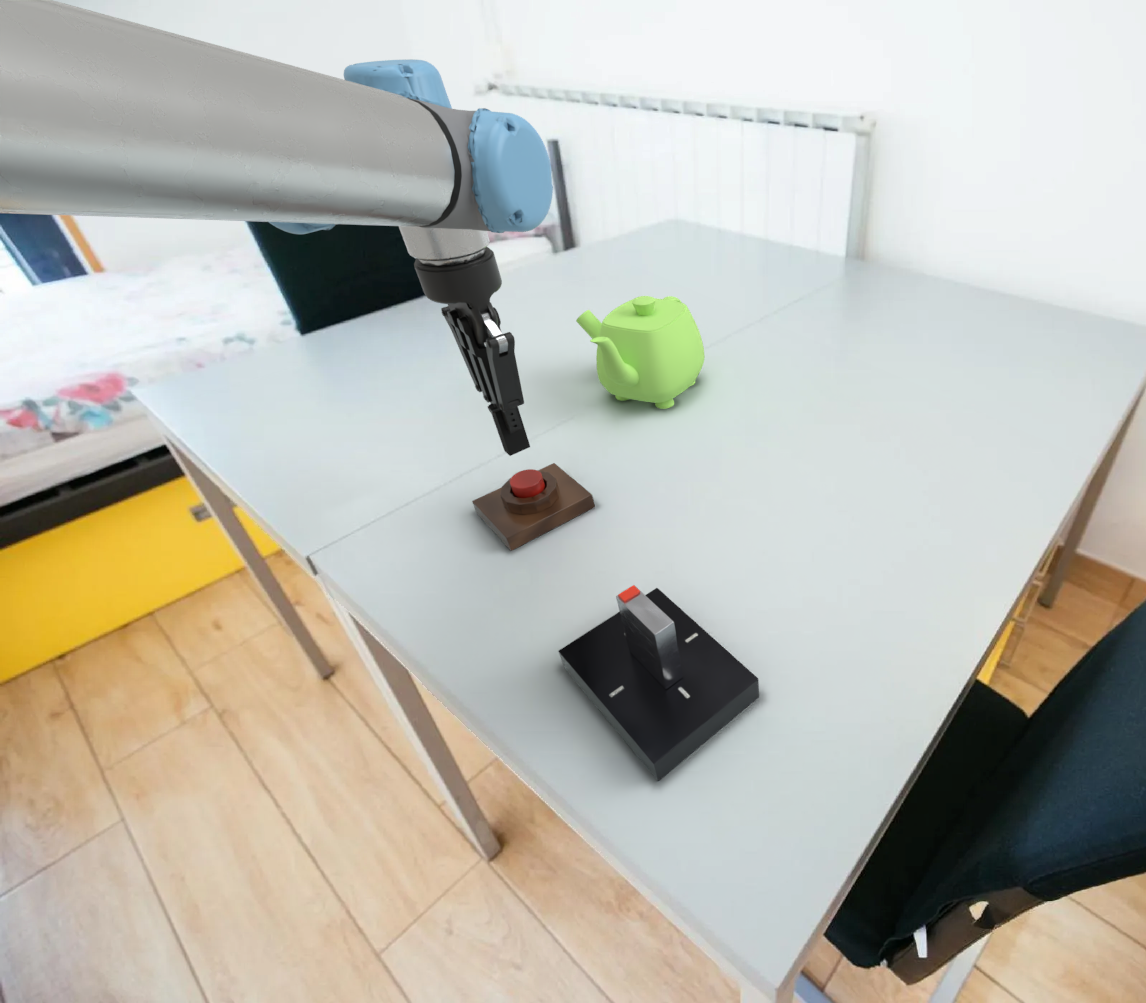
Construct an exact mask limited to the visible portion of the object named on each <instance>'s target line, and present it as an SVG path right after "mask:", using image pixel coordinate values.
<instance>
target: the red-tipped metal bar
mask: <svg viewBox="0 0 1146 1003" xmlns="http://www.w3.org/2000/svg"><path fill="white" fill-rule="evenodd" d="M645 595H646V594H645V593H644V592H642V590H641V589H639V588H638V587H637V586H636V585H635V584H633V585H631V586H630V587H628V588H626V589H625V590H623V591H621V592H619V593H618V594H617V595H616V596H615V598H616V602H617V607H618V610H619V611H618V612H620V615H621V619H622V623H623V627H624V631H625V635H626V639H627V644H628V648H629V651H630V653H631V654H632V655H633V656H634V657H635V658H636V659H637V660H638V661H639V662H640V663H641V664H642V665H643V666H644V667H645V668H646V669H647V670H648V671H649V672H650V673H651V674H652V676H653V677H654V678H655V679H656V680H657V681H658V682H659V683H660V684H661V685H662V686H663V687H664V688H665V689H668V688H669V687H670V686H672V685H673V684H674V683H676V682H677V681H678V680H680V679H681V678H682V677H683V674H682V668H681V662H680V656H679V650H678V644H677V638H676V632H675V625H674V622H673V621H672V620H671V619H670V618H669V617H668V616H667V615H666V614H665V613H664V612H663V611H662V610H661V609H659V608H658V607H657V606H656V605H655V604H654V603H653V602H652V601H651V600H650V599H649V598H648V597H647V596H645Z"/></svg>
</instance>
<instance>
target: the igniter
mask: <svg viewBox="0 0 1146 1003" xmlns="http://www.w3.org/2000/svg"><path fill="white" fill-rule="evenodd" d="M536 470H537V469H536ZM537 471H539V472H540V473H541V474H542V477H543V480H544V483H545V488H544V490H543V491H542V493H540V494H538V495H535V496H533V497H529V498H518V497H516V496H515V495H514V494H513V491H512V488H511V485H510V479H511V477H510V478H509V479H507V481H506V482H505V483H504V484H502V486H501V487H499V488H497V489H495V490H493V491H490V492H488V493H486V494H484V495H482V496H480V497H478V498H476V499H473V500H471V503H472V505H473V506H474V510H475V513H476V515H477V516H478V517H480V519H481V520H482V521H483V522H484V523H485V524H486V525H487V526H488V527H489V528H490V529H491V531H492V532H493V533H494V534H495V535H496V536H497V537H498V538H499V539H500V540H501V541H502V543H503V544H504V545H505V546H506V547H507V549H508V550H510V551H514V550H516V549H518V548H520V547H522V546H524V545H526V544H527V543H530V542H531V541H533V540H535V539H537V538H539V537H541V536H543V535H544V534H547V533H549V532H550V531H552V530H554V529H556V528H558V527H560V526H562V525H563V524H566V523H568V522H570V521H571V520H573V519H575V518H577V517H579V516H581V515H583V514H584V513H586V512H589V511H590V510H593V509H594V508H596V506H595V502H594V497H593V494H592V493H591V492H590V491H588V490H587V489H586V488H585V487H584V486H582V485H581V483H579V482H577V480H575V479H574V478H573V477H572V476H570V474H568V473H567V472H565V470H564V469H563V468H561V467H560V466H559V465H558V464H556V463H555V462H553V463H551V464H549V465H546V466H544V467H542V468H540V469H538V470H537Z"/></svg>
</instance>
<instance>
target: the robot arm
mask: <svg viewBox="0 0 1146 1003" xmlns="http://www.w3.org/2000/svg"><path fill="white" fill-rule="evenodd" d="M552 171H553V170H552V164H551V160H550V156H549V153H548V150H547V148H546V146H545V143H544V141H543V139H542V137H541V135H540V134H539V132H538V131H537V129H536V128H535V127H534V126H533V125H532V124H531V123H530V122H529V121H528V120H527V119H525V118H524V117H522V116H520V115H518V114H515V113H512V112H503V111H501V112H500V111H492V110H490V109H488V108H486V107H483V108H482V107H481V108H480V107H479V108H477V110H466V109H456V108H453V107H452V104H451V101H450V99H449V96H448V93H447V90H446V88H445V84H444V81H443V78H442V75H441V73H440V71H439V70H438V69H437V67H436V66H435V65H434V64H432V63H431V62H428V61H427V60H423V59H388V60H387V59H385V60H374V61H364V62H358V63H354V64H353V63H352V64H349V65H347V66H346V67H345V68H344V69H343V78H339V77H335V76H332V75H329V74H325V73H321V72H319V71H318V72H317V71H314V70H311V69H307V68H302V67H299V66H295V65H292V64H288V63H285V62H281V61H276V60H274V59H270V58H269V59H268V58H266V57H262V56H258V55H255V54H251V53H248V52H244V51H240V50H237V49H233V48H229V47H226V46H221V45H218V44H214V43H211V42H207V41H203V40H200V39H197V38H193V37H189V36H185V35H182V34H178V33H174V32H170V31H167V30H163V29H160V28H156V27H152V26H148V25H146V24H141V23H138V22H133V21H130V20H127V19H123V18H119V17H116V16H112V15H109V14H105V13H100V12H97V11H93V10H90V9H86V8H82V7H79V6H75V5H72V4H68V3H64V2H62V1H61V2H60V1H57V0H0V214H13V215H14V214H15V215H17V214H18V215H45V216H46V215H47V216H48V215H49V216H72V217H73V216H77V217H78V216H79V217H80V216H81V217H103V218H104V217H105V218H106V217H107V218H108V217H109V218H137V219H140V218H141V219H166V220H167V219H168V220H198V221H199V220H202V221H226V222H227V221H228V222H229V221H231V222H257V223H259V222H262V223H269V224H270V225H272V226H273V227H275V228H277V229H278V230H281V231H283V232H286V233H288V234H293V235H306V234H310V233H314V232H318V231H322V230H323V231H331V230H332V229H333V228H334V227H336V225H354V226H355V225H356V226H380V227H381V226H384V227H385V226H386V227H388V226H389V227H398V229H399V231H400V234H401V237H402V240H403V242H404V245H405V248H406V250H407V253H408V254H409V256H411V257H412V258H414V259H415V260H414V263H413V267H414V270H415V272H416V275H417V277H418V280H419V283H420V285H421V288H422V292H423V293H424V295H425V297H426V298H427V299H428V300H430V301H431V302H434V303H437V304H443V305H447V306H443V307H441V308H440V311H441V315H442V317H444V319H445V321H446V323H447V325H448V327H449V329H450V330H451V334H452V336H453V338H454V340H455V342H456V345H457V347H458V350H459V351H460V354H461V356H462V358H463V361H464V364H465V366H466V368H467V371H468V373H469V375H470V377H471V380H472V382H473V384H474V388H475V390H476V391H477V392H478V393H482V396H483V399H484V400H485V401H486V403H490V404H488V406H487V409H488V411H489V412H490V414H491V417H492V420H493V422H494V425H495V428H496V430H497V434H498V436H499V439H500V442H501V445H502V448H503V451H504V452H505V453H506V454H507V455H508V456H509V457H511V456H513V455H516V454H518V453H520V452H523V451H524V450H527V449H529V448H531V444H530V442H529V438H528V435H527V431H526V428H525V424H524V421H523V419H522V416H521V413H520V410H519V407H520V406H523V405H524V404H525V400H524V395H523V390H522V384H521V379H520V373H519V368H518V363H517V359H516V353H515V347H516V346H515V345H516V340H515V336H514V335H513V333H512V332H511V331H507V332H504V333H503V332H502V329H501V324H502V323H501V318H500V314H499V311H498V310H497V309H496V307H493V304H492V302H491V297H492V296H493V295H494V294H495V293H497V292H498V291H499V290H500V289H501V288H502V284H503V281H502V276H501V273H500V269H499V266H498V263H497V259H496V256H495V253H494V251H493V250H492V249H491V248H490V247H489V244H490V237H489V234H488V233H489V232H491V233H494V234H504V233H507V232H509V233H514V232H515V233H525V232H530V231H532V230H534V229H536V228H538V227H539V226H540V225H541V224H542V223H543V222H544V221H545V219H546V217H547V215H548V214H549V211H550V208H551V204H552V200H553V194H554V193H553V192H554V191H553V190H554V186H553V176H552Z"/></svg>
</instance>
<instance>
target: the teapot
mask: <svg viewBox="0 0 1146 1003" xmlns="http://www.w3.org/2000/svg"><path fill="white" fill-rule="evenodd" d="M575 322H576V323H577V324H578V325H579V326H580V327H581V328H582V329H583V330H584V332H585V333H586V334H587V335H588V336H589V337H590V338H591V339H590V340H589V342H591V343H593V344H595V345H597V346H596V355H595V356H596V357H595V358H596V373H597V378H598V380H599V383H600V384H601V385H602V387H603V388H604V389H605V390H606V391H607V392H608V393H609V394H611V395H613V396H614V397H615V400H617V401H621V402H623V401H625V402H626V401H629V400H634V401H639V402H645V403H646V402H647V403H654V406H655V407H656V408H657V409H661V410H667V409H670V408H673V407H674V405H675V400H674V398H676V397H678V396H679V395H681V394H682V393H683V392H685V391H686V390H688V389H689V388H690V387H692V386H694V385H695V384H696V380H697V379H698V376H699V374H700V372H701V370H702V368H703V365H704V363H705V358H706V356H705V347H704V343H703V339H702V336H701V333H700V330H699V328H698V325H697V323H696V320H695V319H694V317H693V314H692V313H691V311H690V309H689V307H688V306H687V304H685V303H684V302H682V301H681V299H680V298H678V297H676V296H672V295H667V296H665V297H663V298H656V297H654V296H651V295H639V296H637V297H635V298H633V299H632V298H631V299H630V300H628V301H625V302H624V303H622V304H620V305H618V306H617V307H615V308H614V309H613V310H611V311H609V313H608V314H607V315H606V316H605V317H604V318H603V319H602V321H600V319H598V318H597V317H596V315H595V314H594V313H593V312H592V311H591V310H590V309H587V310H586V311H584V312H582V313H581V314H580V315H579V316H578V317H577V318H576V320H575Z"/></svg>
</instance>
